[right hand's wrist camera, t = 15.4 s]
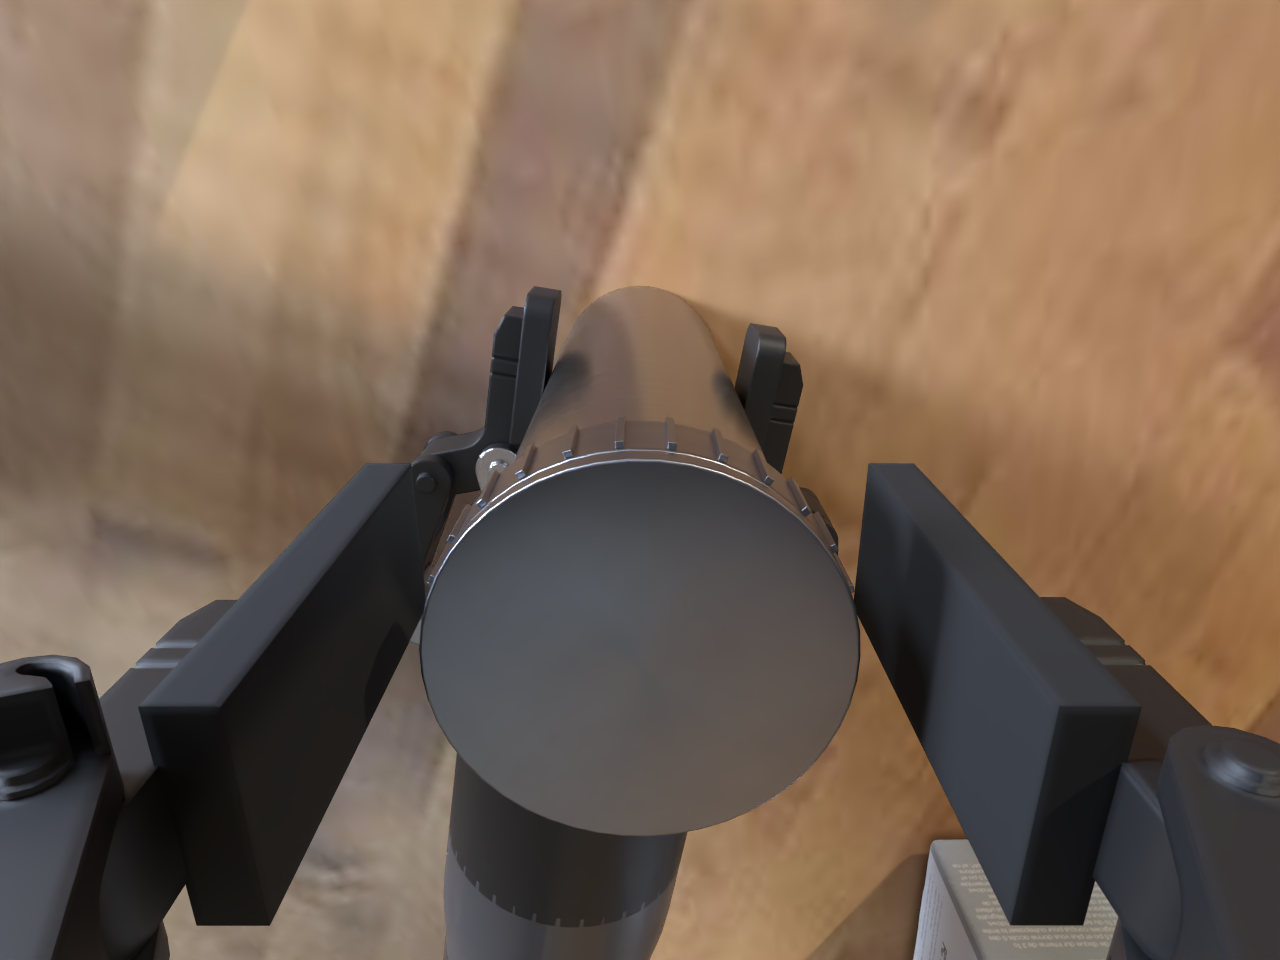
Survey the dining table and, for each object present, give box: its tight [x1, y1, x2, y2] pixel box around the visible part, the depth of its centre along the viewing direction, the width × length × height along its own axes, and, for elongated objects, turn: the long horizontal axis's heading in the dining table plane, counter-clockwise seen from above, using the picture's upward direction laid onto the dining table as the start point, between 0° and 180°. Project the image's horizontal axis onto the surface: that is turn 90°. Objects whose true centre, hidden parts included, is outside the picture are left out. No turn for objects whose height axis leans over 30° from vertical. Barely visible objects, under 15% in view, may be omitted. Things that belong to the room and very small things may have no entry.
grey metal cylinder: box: [513, 286, 767, 462], centre depth 19 cm, size 5×5×17 cm
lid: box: [419, 416, 860, 836], centre depth 11 cm, size 6×6×2 cm
